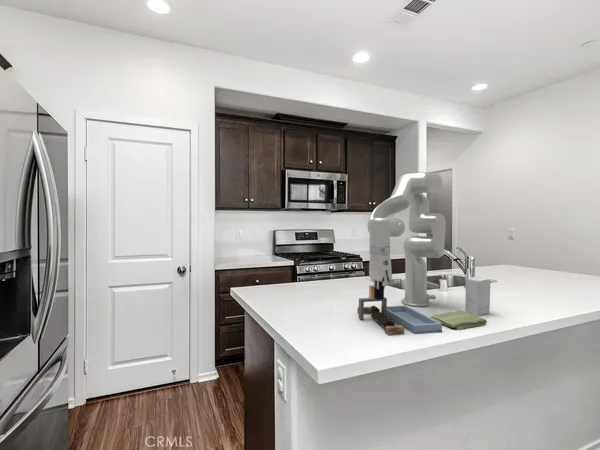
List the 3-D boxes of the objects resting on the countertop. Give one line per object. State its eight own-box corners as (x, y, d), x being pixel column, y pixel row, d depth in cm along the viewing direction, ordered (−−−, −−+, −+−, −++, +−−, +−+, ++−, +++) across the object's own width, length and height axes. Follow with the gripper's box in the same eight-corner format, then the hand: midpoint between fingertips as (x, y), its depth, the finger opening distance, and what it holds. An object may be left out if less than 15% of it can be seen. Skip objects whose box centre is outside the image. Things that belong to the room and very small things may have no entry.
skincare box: (477, 310, 139) (477, 276, 139) (490, 314, 134) (491, 278, 133) (464, 312, 135) (464, 277, 135) (477, 316, 130) (478, 280, 130)
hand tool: (395, 332, 112) (395, 318, 112) (384, 332, 112) (384, 318, 111) (378, 315, 131) (378, 304, 131) (368, 315, 130) (368, 304, 130)
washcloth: (427, 321, 125) (427, 312, 125) (460, 316, 131) (460, 308, 131) (454, 332, 113) (454, 323, 112) (490, 326, 119) (490, 318, 119)
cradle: (370, 312, 134) (370, 306, 134) (404, 334, 109) (404, 327, 109) (357, 312, 133) (357, 307, 133) (388, 335, 108) (388, 328, 108)
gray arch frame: (384, 316, 128) (384, 284, 128) (386, 317, 126) (387, 285, 126) (358, 317, 126) (359, 285, 125) (360, 319, 124) (361, 286, 123)
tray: (404, 311, 135) (404, 305, 135) (442, 331, 112) (442, 323, 112) (381, 313, 133) (381, 306, 133) (414, 333, 109) (414, 325, 109)
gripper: (399, 252, 114) (398, 303, 114) (379, 248, 129) (378, 293, 129) (379, 253, 112) (379, 304, 113) (362, 249, 127) (361, 294, 127)
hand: (379, 298), depth 121 cm, fingers closed
